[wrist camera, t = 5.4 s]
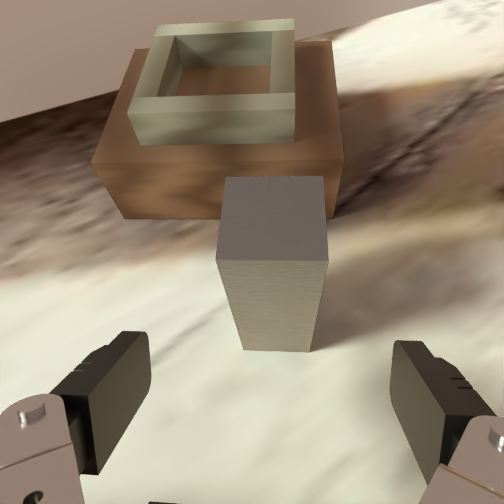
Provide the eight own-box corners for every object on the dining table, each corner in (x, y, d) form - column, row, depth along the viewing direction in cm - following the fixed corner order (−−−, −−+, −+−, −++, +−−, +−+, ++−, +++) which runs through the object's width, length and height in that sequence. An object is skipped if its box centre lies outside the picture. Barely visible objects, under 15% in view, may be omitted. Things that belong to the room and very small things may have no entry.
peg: (243, 350, 22) (215, 260, 13) (247, 291, 25) (225, 176, 15) (309, 352, 22) (328, 261, 13) (307, 292, 24) (323, 175, 15)
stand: (125, 219, 29) (71, 131, 21) (156, 110, 35) (124, 16, 28) (332, 219, 27) (350, 125, 20) (324, 106, 34) (335, 5, 27)
